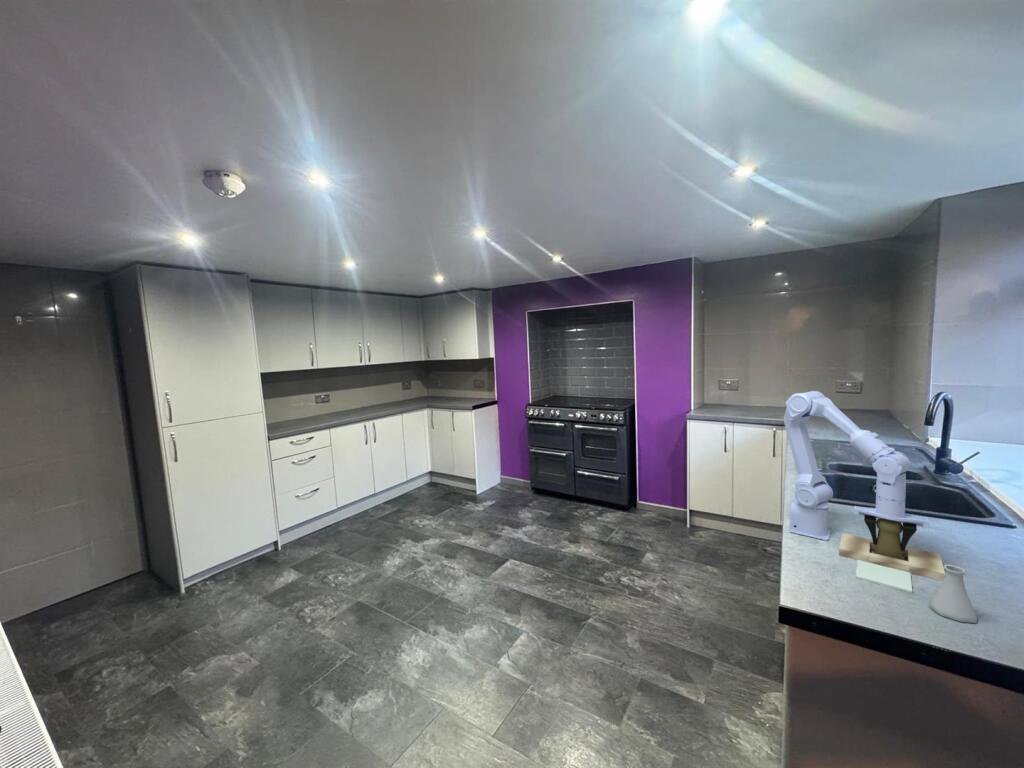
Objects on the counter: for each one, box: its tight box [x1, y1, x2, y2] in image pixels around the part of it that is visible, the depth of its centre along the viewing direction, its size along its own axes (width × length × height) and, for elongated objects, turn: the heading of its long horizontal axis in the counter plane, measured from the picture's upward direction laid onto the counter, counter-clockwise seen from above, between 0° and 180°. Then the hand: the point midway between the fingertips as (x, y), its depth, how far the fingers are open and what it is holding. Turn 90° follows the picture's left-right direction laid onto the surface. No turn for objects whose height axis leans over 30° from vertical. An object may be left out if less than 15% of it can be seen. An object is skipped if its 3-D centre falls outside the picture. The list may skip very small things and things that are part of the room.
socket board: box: [838, 532, 946, 582], centre depth 108 cm, size 20×12×2 cm, turn 47°
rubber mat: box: [855, 560, 913, 594], centre depth 100 cm, size 10×10×1 cm
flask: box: [928, 564, 978, 624], centre depth 86 cm, size 7×7×10 cm
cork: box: [873, 518, 904, 560], centre depth 108 cm, size 6×6×11 cm
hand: (888, 546), depth 108 cm, fingers closed on cork, 5 cm apart
